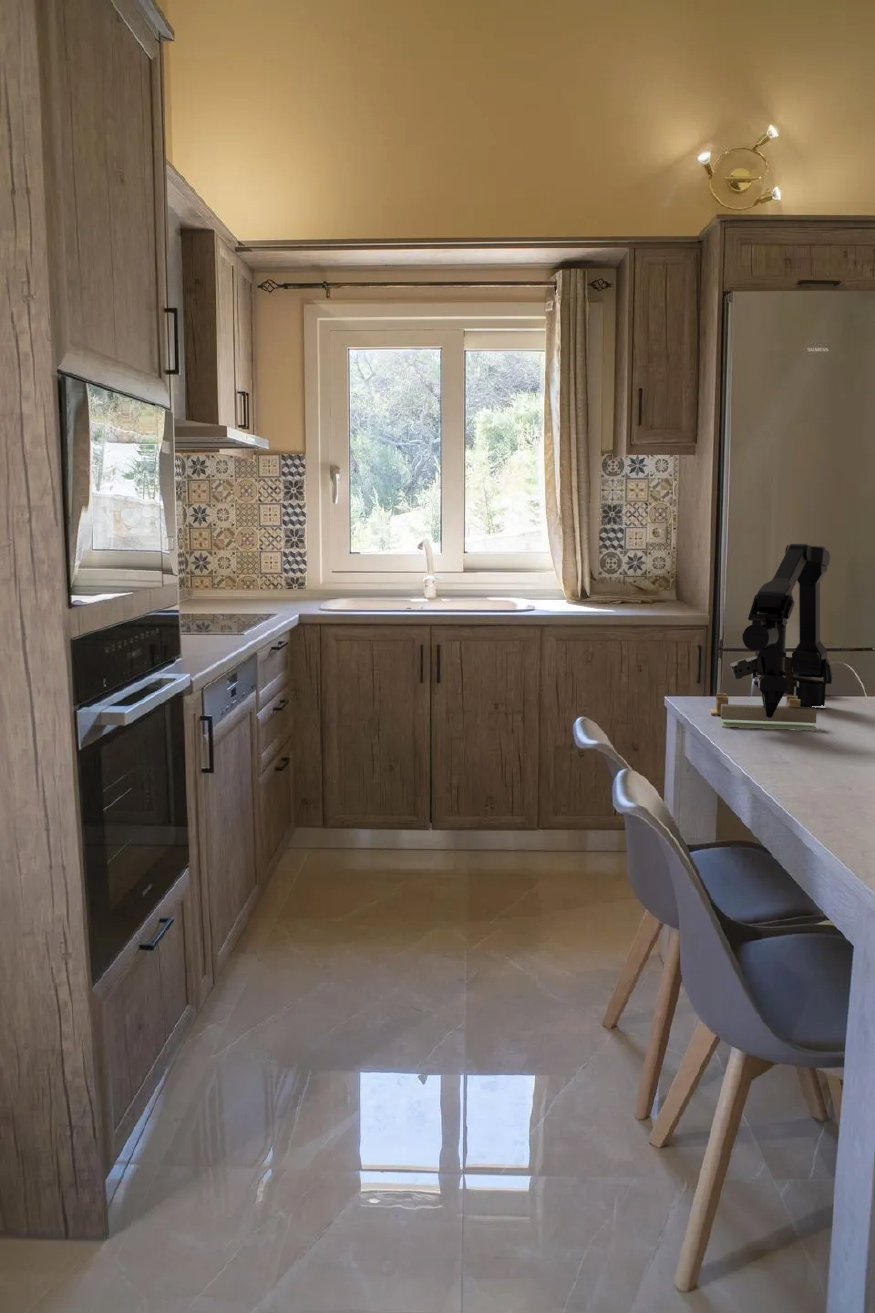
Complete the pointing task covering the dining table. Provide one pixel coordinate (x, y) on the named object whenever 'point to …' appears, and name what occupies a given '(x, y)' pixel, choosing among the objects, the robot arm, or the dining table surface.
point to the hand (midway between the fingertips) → (768, 716)
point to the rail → (760, 713)
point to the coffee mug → (789, 673)
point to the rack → (723, 699)
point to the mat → (768, 725)
